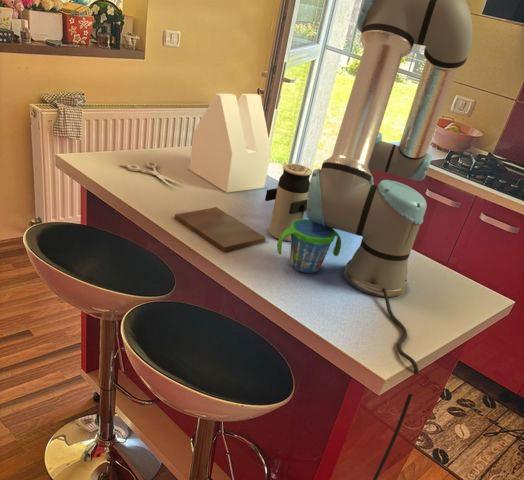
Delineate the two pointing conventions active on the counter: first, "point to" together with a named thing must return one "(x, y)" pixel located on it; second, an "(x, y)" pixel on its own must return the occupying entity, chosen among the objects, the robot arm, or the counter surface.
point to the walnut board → (220, 228)
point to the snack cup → (309, 244)
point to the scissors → (154, 172)
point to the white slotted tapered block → (232, 143)
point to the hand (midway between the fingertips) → (278, 202)
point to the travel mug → (289, 198)
